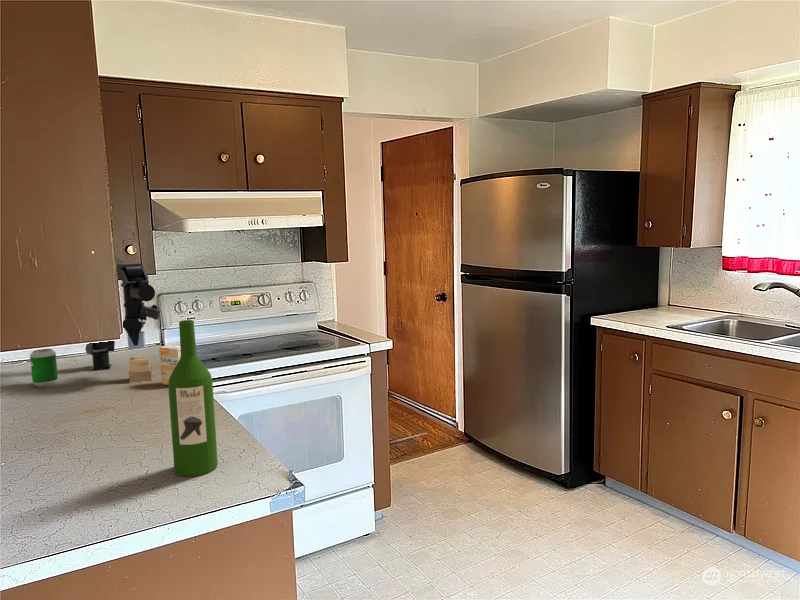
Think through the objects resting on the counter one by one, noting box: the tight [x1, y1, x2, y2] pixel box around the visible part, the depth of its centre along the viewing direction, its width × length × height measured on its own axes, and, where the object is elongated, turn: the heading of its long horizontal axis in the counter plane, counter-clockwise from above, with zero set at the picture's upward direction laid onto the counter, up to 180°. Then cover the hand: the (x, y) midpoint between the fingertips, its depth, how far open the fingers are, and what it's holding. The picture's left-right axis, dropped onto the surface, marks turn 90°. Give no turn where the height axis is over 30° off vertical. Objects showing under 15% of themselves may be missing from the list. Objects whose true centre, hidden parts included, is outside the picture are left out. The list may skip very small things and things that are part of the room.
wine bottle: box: [167, 319, 218, 478], centre depth 125 cm, size 9×9×32 cm
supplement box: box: [159, 344, 181, 386], centre depth 198 cm, size 8×5×13 cm, turn 68°
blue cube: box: [126, 331, 146, 350], centre depth 204 cm, size 5×5×5 cm
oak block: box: [129, 355, 151, 372], centre depth 205 cm, size 6×6×4 cm
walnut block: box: [128, 365, 154, 383], centre depth 205 cm, size 7×7×4 cm
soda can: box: [29, 348, 59, 388], centre depth 201 cm, size 8×8×12 cm
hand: (136, 344), depth 204 cm, fingers closed on blue cube, 5 cm apart
